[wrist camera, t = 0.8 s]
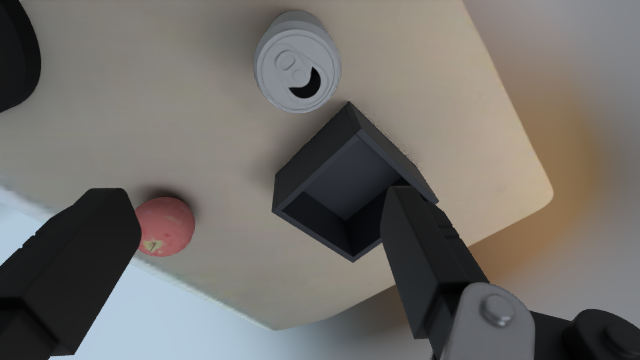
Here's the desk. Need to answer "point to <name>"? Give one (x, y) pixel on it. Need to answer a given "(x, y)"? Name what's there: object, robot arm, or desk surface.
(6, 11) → the black round disc
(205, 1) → the desk surface
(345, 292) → the desk surface
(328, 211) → the bin
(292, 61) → the beverage can
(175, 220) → the apple
